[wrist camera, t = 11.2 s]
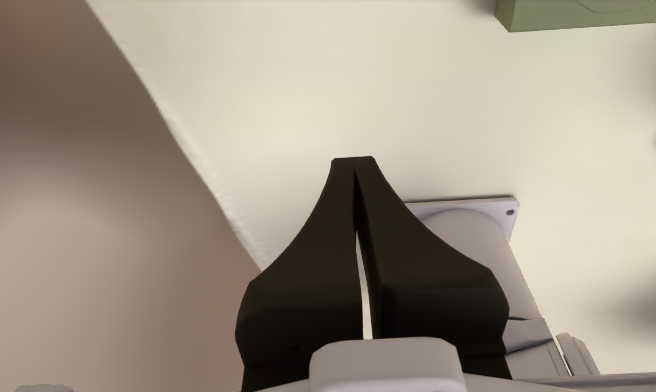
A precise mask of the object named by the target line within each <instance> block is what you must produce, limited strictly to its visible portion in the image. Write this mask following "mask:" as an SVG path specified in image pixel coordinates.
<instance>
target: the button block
mask: <svg viewBox="0 0 656 392" xmlns="http://www.w3.org/2000/svg"><path fill="white" fill-rule="evenodd" d="M495 17H496V18H497V20H498V21H499V22H500V23H501V24H502V25H503V26H504V27H505V29H506V30H507V31H508V32H524V31H539V30H554V29H569V28H584V27H598V26H613V25H628V24H643V23H656V0H497V6H496V12H495Z"/></svg>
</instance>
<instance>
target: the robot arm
mask: <svg viewBox="0 0 656 392" xmlns="http://www.w3.org/2000/svg"><path fill="white" fill-rule="evenodd" d="M518 208H519V202H518V200H517V199H516V198H514V197H507V198H490V199H472V200H455V201H437V202H420V203H403V202H402V200H401V199H400V198H399V197H398V195H397V194H396V193H395V191H394V190H393V189H392V187H391V186H390V185H389V183H388V182H387V180H386V179H385V177H384V175H383V174H382V172H381V170H380V169H379V167H378V165H377V163H376V161H375V159H374V158H373V157H372V156H363V157H346V158H334V159H333V160H332V161H331V168H330V172H329V176H328V178H327V181H326V184H325V186H324V189H323V191H322V193H321V196H320V198H319V200H318V202H317V204H316V206H315V207H314V209H313V211H312V213H311V215H310V216H309V218H308V220H307V221H306V223H305V224H304V226H303V227H302V229H301V230H300V232H299V233H298V234H297V236H296V237H295V238H294V240H293V241H292V242H291V243H290V245H289V246H288V247H287V248H286V249H285V250H284V251H283V252H282V253H281V255H280V256H279V257H278V258H277V259H276V260H275V261H274V262H273V263H272V264H271V265H270V266H269V267H268V268H266V269H265V270H264V271H263V272H262V273H261V274H260V275H258V276H257V277H256V278H255V279H253V280H252V281H251V282H250V283H249V285H248V287H247V290H246V292H245V294H244V297H243V300H242V302H241V306H240V309H239V313H238V317H237V323H236V329H235V340H236V343H237V346H238V349H239V352H240V355H241V358H242V361H243V364H244V367H245V368H244V374H243V383H242V390H241V392H656V372H650V373H628V374H606V375H601V374H600V372H599V370H598V368H597V366H596V364H595V362H594V361H593V359H592V357H591V355H590V353H589V351H588V350H587V348H586V346H585V344H584V343H583V342H582V341H580V340H578V339H576V338H574V337H571V336H570V335H569V334H568V333H562V334H559V335H557V336H556V337H557V340H558V342H559V344H560V346H561V349H562V351H563V353H564V355H563V357H564V359H565V361H566V363H567V365H568V368H569V370H570V372H571V374H572V376H570V374H569V372H568V370H567V368H566V366H565V363H564V361H563V359H562V357H561V355H560V352H559V350H558V348H557V346H556V344H555V342H554V339H553V337H552V335H551V333H550V331H549V329H548V326H547V324H546V322H545V320H544V318H542V317H541V314H540V312H539V310H538V308H537V305H536V303H535V301H534V299H533V296H532V294H531V292H530V290H529V288H528V285H527V283H526V281H525V279H524V276H523V274H522V272H521V270H520V267H519V265H518V263H517V261H516V259H515V256H514V254H513V252H512V250H511V247H510V245H509V241H510V237H511V234H512V230H513V227H514V223H515V219H516V216H517V212H518ZM510 209H512V210H510ZM508 210H510V211H508ZM356 232H357V234H358V240H359V245H360V250H361V255H362V260H363V265H364V270H365V275H366V280H367V287H368V293H369V304H370V314H371V326H372V337H373V339H370V340H363V313H362V296H361V285H360V278H359V270H358V263H357V254H356ZM15 392H76V391H75V390H74V389H73V388H71V387H69V386H66V385H64V384H42V385H22V386H19V387H18V388H17V389H16V391H15ZM239 392H240V391H239Z"/></svg>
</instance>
